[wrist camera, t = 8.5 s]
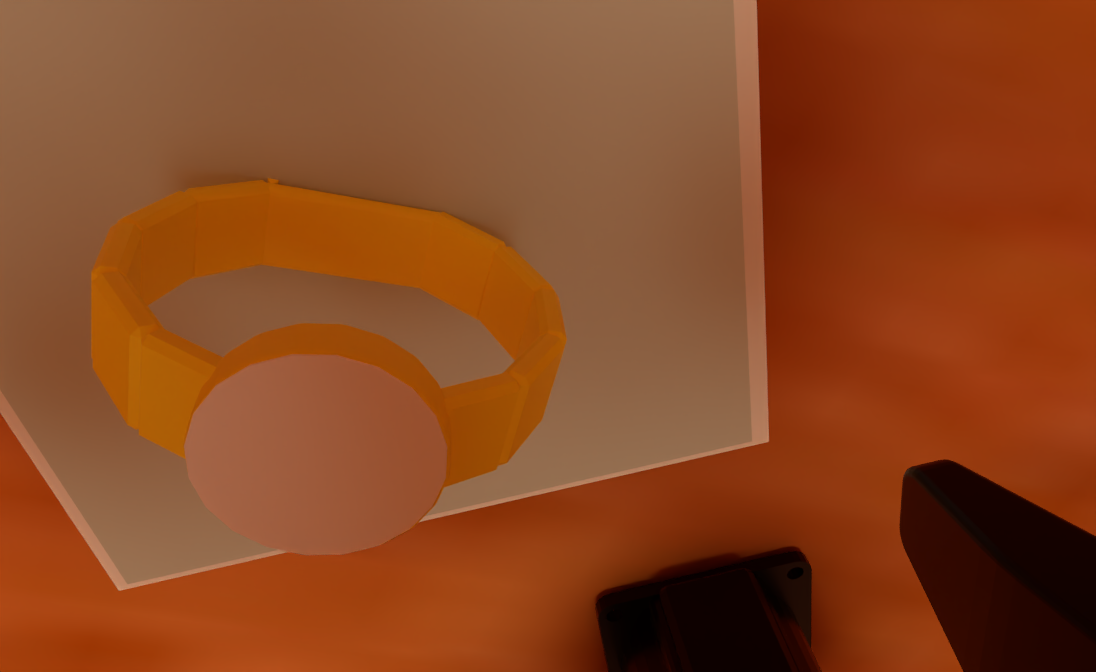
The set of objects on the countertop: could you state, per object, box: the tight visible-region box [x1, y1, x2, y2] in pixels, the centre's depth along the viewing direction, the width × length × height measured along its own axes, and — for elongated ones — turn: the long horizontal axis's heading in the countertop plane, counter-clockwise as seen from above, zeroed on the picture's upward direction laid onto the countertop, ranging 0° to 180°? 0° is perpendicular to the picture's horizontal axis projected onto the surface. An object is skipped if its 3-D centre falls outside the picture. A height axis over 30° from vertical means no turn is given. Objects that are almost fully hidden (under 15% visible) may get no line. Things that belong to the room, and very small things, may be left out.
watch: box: [91, 178, 567, 555], centre depth 12 cm, size 6×3×6 cm, turn 75°
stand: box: [0, 0, 769, 591], centre depth 16 cm, size 14×14×4 cm
